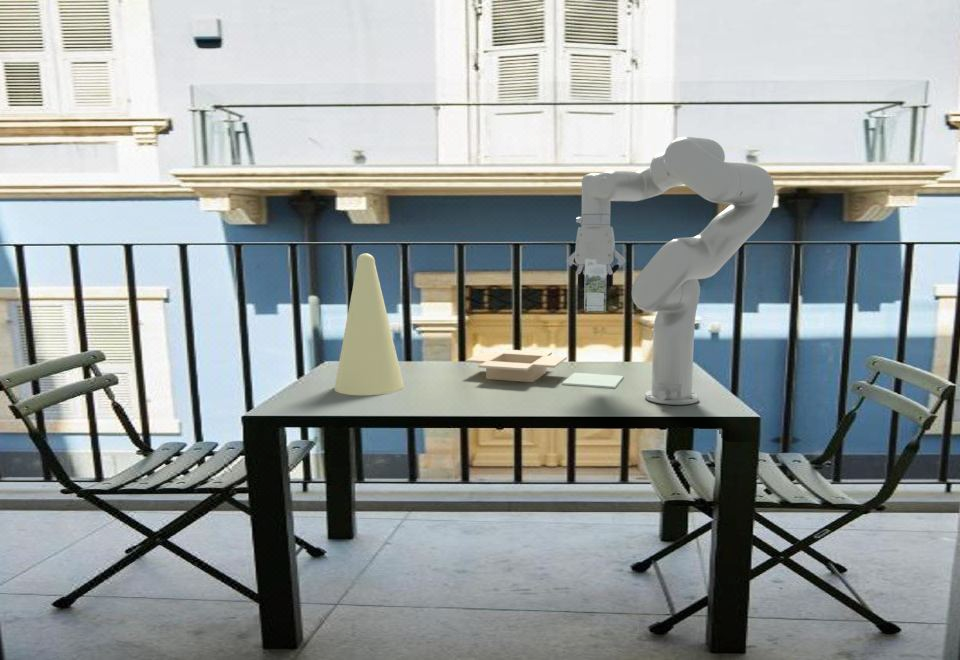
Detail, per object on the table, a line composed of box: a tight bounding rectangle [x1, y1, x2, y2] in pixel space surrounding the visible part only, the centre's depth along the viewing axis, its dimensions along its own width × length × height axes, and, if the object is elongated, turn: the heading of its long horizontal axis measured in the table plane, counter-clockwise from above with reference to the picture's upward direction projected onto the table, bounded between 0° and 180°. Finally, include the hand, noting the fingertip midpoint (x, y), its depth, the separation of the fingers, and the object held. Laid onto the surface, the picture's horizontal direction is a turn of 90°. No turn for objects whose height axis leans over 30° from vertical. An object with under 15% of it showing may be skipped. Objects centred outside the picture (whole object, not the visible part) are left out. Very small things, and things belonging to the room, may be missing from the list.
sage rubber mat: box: [562, 372, 624, 389], centre depth 192 cm, size 14×14×1 cm
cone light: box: [333, 253, 405, 397], centre depth 187 cm, size 25×18×35 cm
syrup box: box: [583, 258, 608, 313], centre depth 188 cm, size 6×6×14 cm
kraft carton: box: [465, 349, 568, 383], centre depth 199 cm, size 26×26×5 cm
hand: (595, 288), depth 188 cm, fingers closed on syrup box, 6 cm apart
